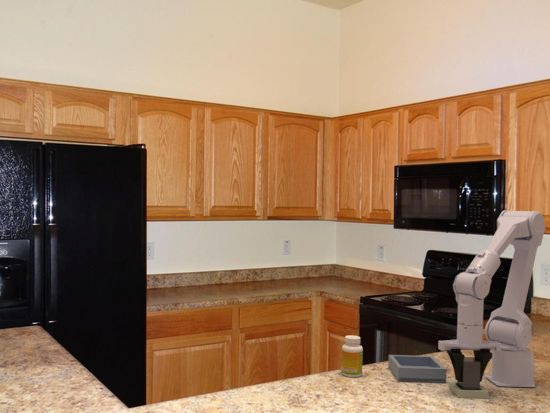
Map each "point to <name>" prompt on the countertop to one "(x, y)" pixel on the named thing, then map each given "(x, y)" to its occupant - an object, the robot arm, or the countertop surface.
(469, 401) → the countertop surface
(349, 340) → the supplement bottle
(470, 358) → the dark wooden post
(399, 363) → the tray
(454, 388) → the holder
